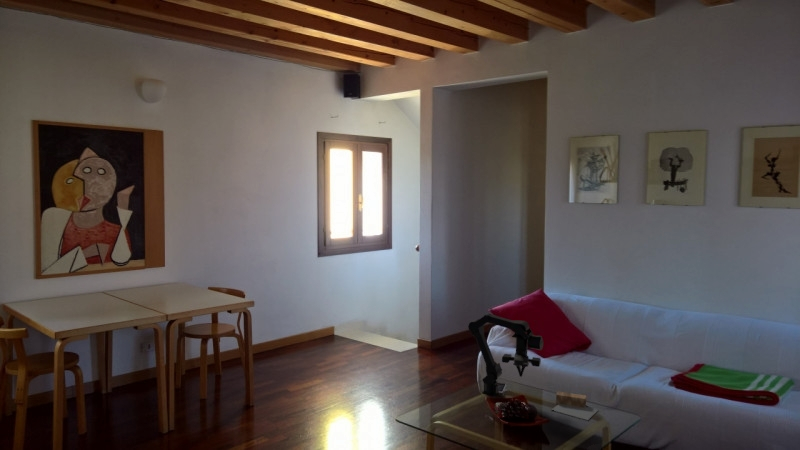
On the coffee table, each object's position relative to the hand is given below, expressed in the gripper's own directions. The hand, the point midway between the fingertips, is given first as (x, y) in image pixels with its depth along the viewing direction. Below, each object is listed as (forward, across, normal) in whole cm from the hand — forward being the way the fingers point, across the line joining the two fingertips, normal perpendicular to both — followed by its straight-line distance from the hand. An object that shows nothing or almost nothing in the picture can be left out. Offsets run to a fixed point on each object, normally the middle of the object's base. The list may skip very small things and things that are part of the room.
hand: (520, 376), depth 299 cm
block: (+9, +18, +3) cm, 20 cm away
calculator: (+13, -1, -18) cm, 22 cm away
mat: (+12, +27, -4) cm, 30 cm away
